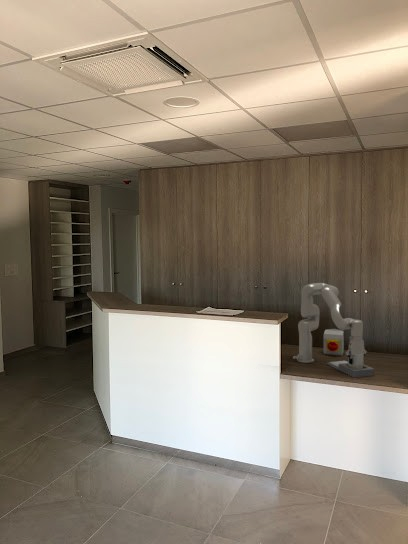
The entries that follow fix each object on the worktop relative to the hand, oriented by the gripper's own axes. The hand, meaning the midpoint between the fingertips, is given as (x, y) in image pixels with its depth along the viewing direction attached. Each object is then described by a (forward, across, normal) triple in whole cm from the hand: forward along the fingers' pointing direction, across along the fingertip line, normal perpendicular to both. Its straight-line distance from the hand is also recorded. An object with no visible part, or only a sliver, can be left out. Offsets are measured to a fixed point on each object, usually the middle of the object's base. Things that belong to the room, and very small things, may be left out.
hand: (355, 363), depth 312 cm
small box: (+6, 0, 0) cm, 6 cm away
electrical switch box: (+8, +12, +48) cm, 50 cm away
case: (+7, 0, +8) cm, 10 cm away
